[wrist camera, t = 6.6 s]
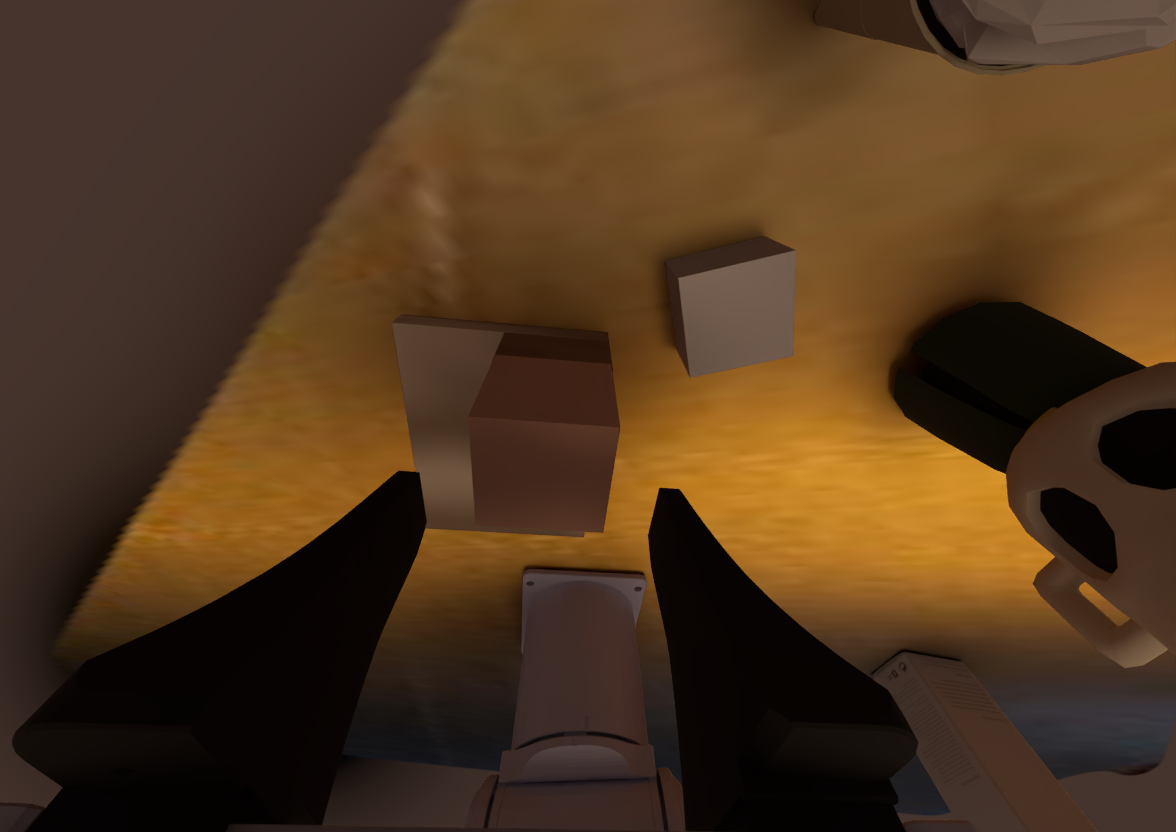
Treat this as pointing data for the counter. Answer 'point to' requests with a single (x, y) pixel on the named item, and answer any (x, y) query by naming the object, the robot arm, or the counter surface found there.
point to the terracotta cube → (543, 444)
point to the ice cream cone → (1009, 29)
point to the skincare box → (976, 750)
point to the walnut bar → (554, 348)
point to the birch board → (453, 408)
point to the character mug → (1066, 459)
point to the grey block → (733, 305)
